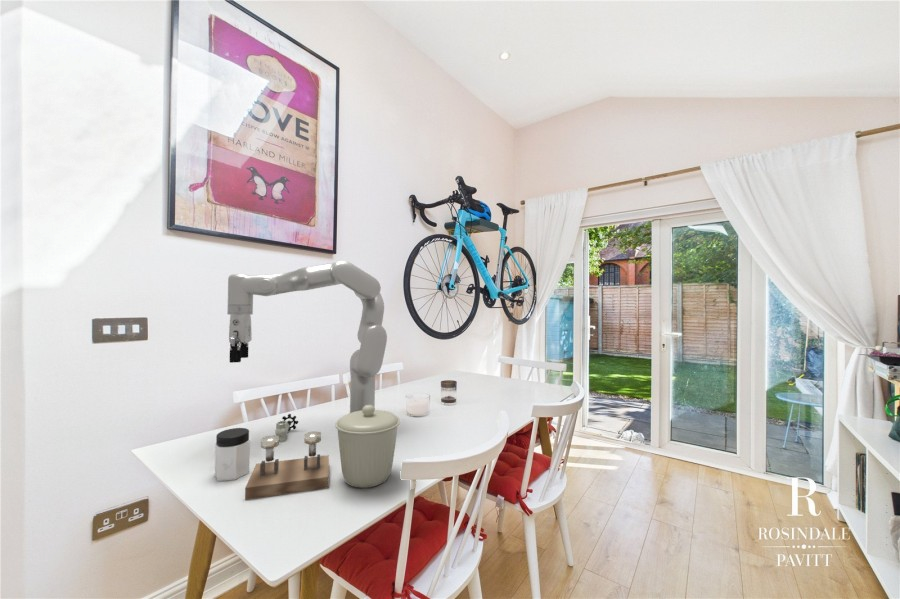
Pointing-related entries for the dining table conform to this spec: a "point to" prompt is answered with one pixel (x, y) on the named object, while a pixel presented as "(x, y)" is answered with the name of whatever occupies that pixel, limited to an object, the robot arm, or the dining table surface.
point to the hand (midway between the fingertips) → (239, 359)
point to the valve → (285, 427)
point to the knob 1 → (269, 446)
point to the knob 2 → (312, 441)
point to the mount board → (288, 477)
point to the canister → (367, 446)
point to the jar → (232, 454)
